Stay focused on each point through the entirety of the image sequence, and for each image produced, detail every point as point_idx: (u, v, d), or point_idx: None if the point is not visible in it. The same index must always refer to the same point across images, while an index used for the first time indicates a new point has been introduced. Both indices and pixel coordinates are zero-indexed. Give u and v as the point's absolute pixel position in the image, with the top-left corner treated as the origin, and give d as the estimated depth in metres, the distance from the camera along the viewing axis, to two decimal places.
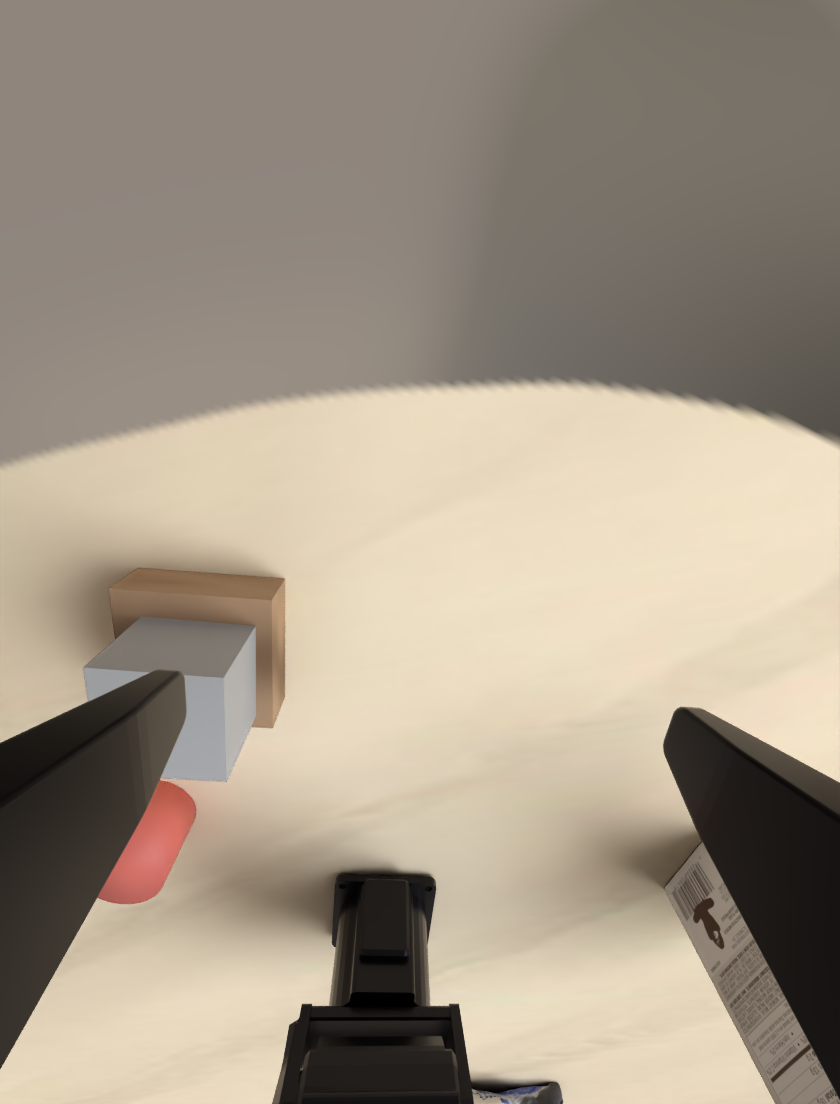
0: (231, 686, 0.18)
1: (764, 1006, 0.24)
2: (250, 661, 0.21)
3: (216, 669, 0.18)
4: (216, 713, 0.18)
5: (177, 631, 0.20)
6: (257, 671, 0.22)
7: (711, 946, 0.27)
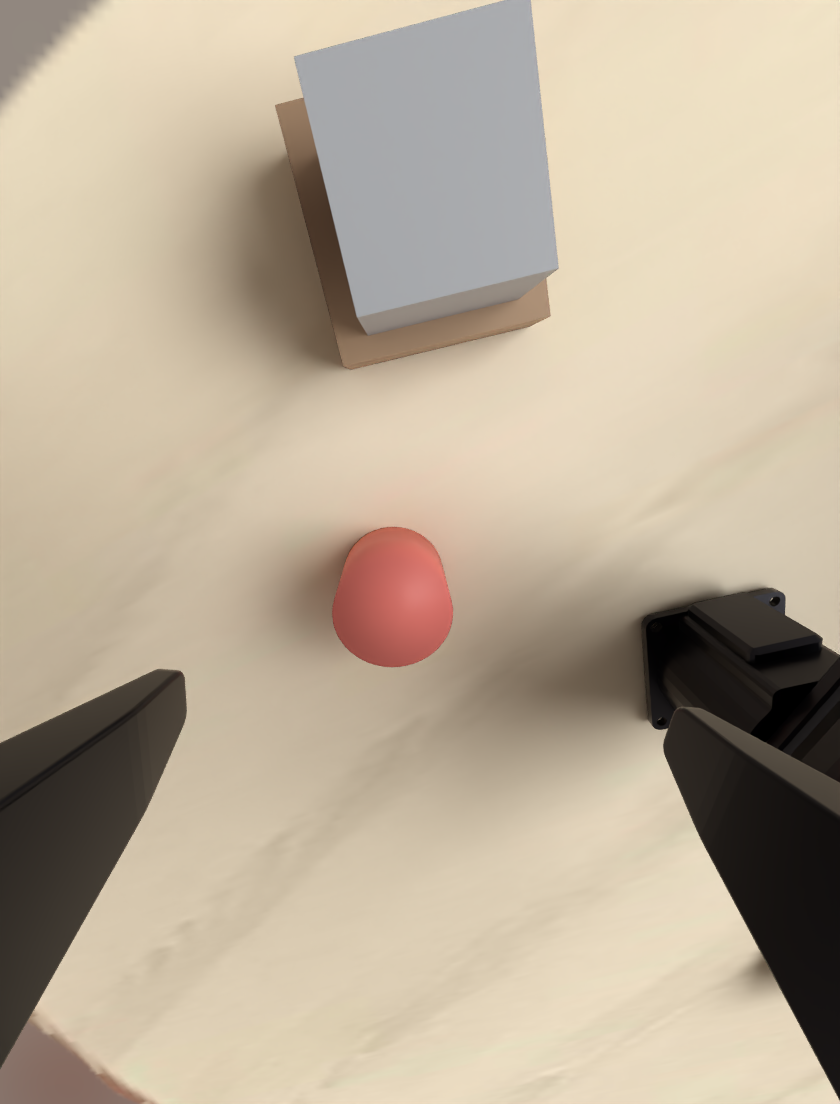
0: None
1: None
2: None
3: None
4: (526, 97, 0.10)
5: None
6: None
7: None
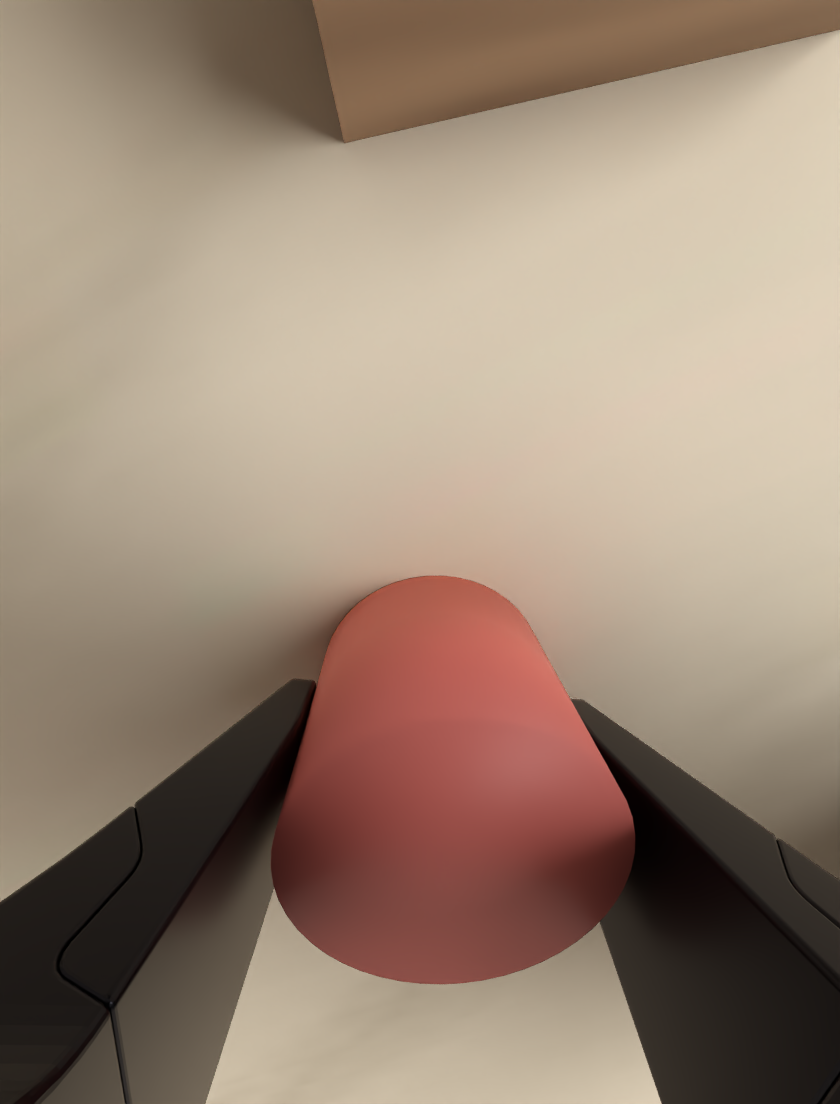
0: None
1: None
2: None
3: None
4: None
5: None
6: None
7: None
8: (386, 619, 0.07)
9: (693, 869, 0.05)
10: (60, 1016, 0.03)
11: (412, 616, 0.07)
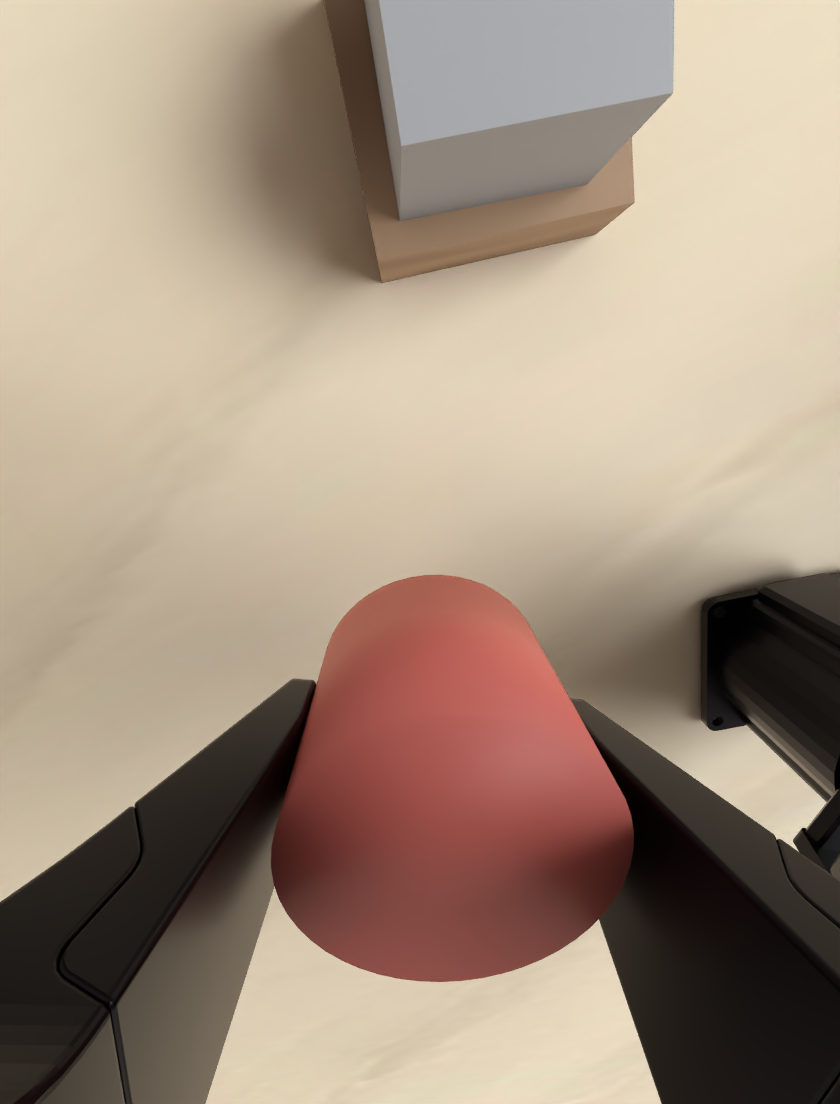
0: None
1: None
2: None
3: None
4: None
5: None
6: None
7: None
8: (386, 618, 0.07)
9: (693, 869, 0.05)
10: (60, 1014, 0.03)
11: (412, 615, 0.07)
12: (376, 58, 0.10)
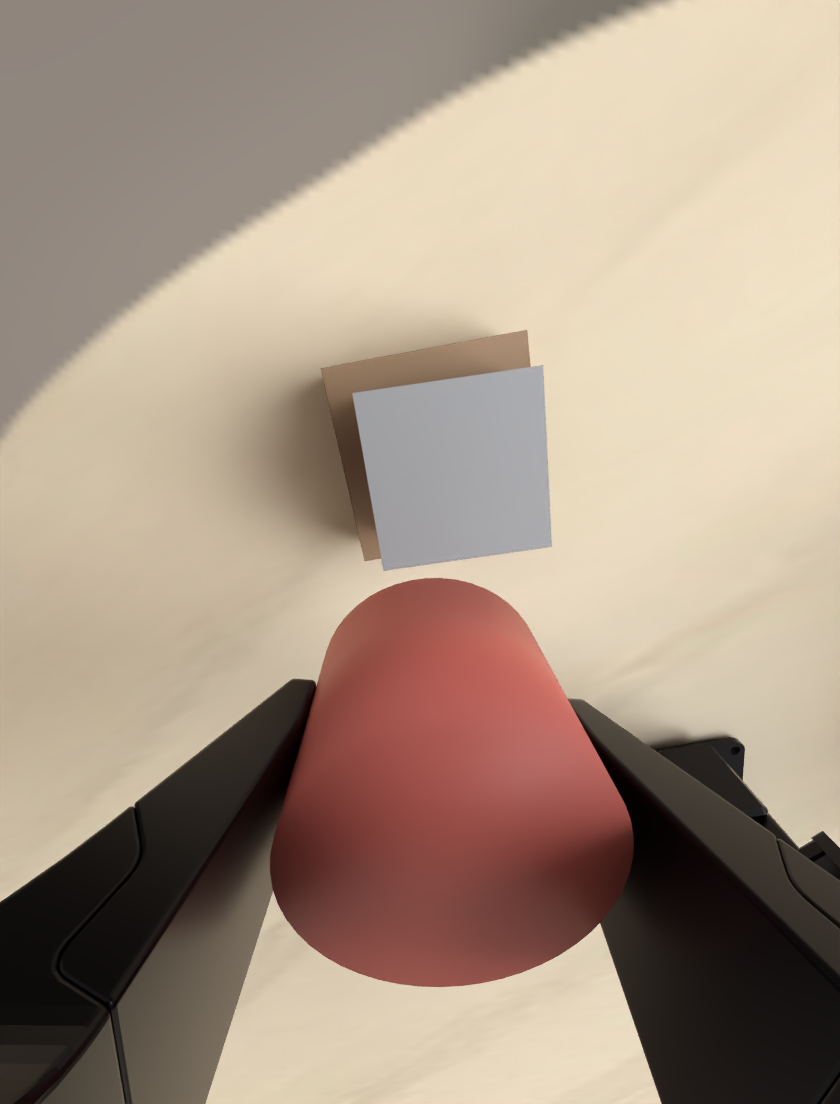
0: None
1: None
2: None
3: None
4: (534, 431, 0.12)
5: None
6: None
7: None
8: (385, 622, 0.07)
9: (693, 869, 0.05)
10: (59, 1016, 0.03)
11: (411, 619, 0.07)
12: None
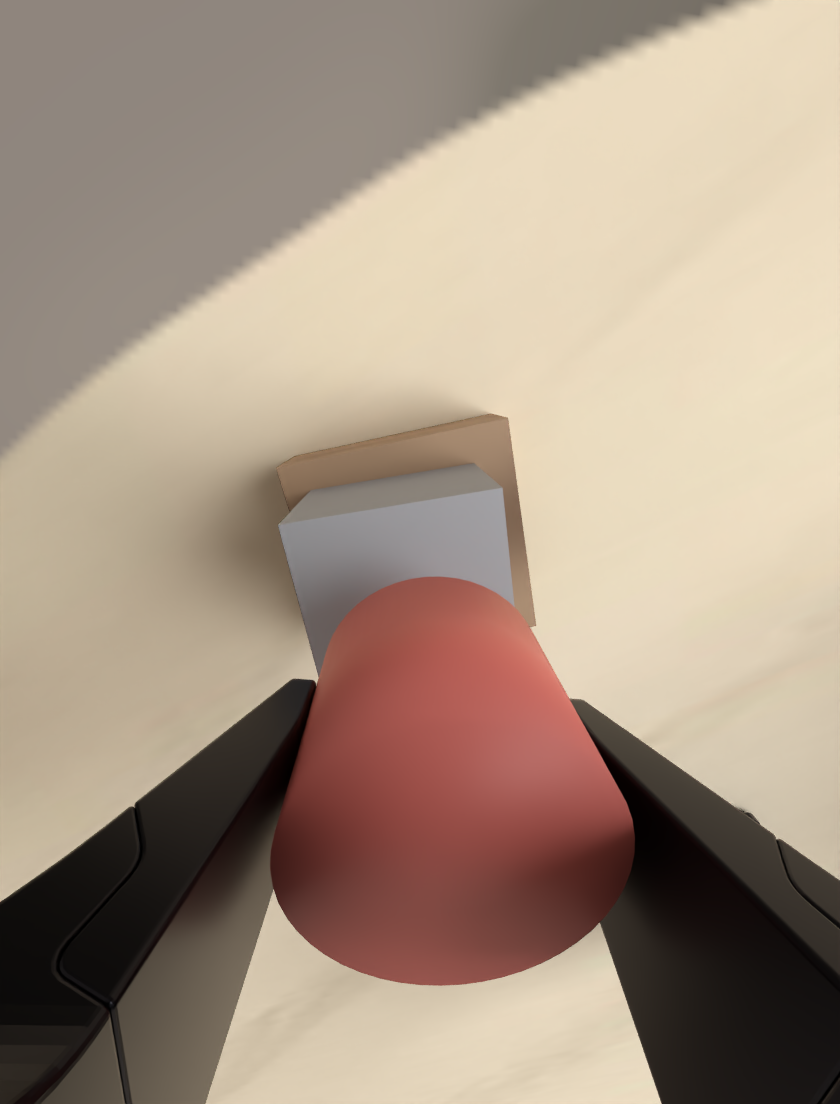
0: None
1: None
2: None
3: (478, 486, 0.11)
4: (496, 559, 0.11)
5: (373, 485, 0.13)
6: None
7: None
8: (386, 620, 0.07)
9: (693, 869, 0.05)
10: (59, 1016, 0.03)
11: (412, 617, 0.07)
12: None
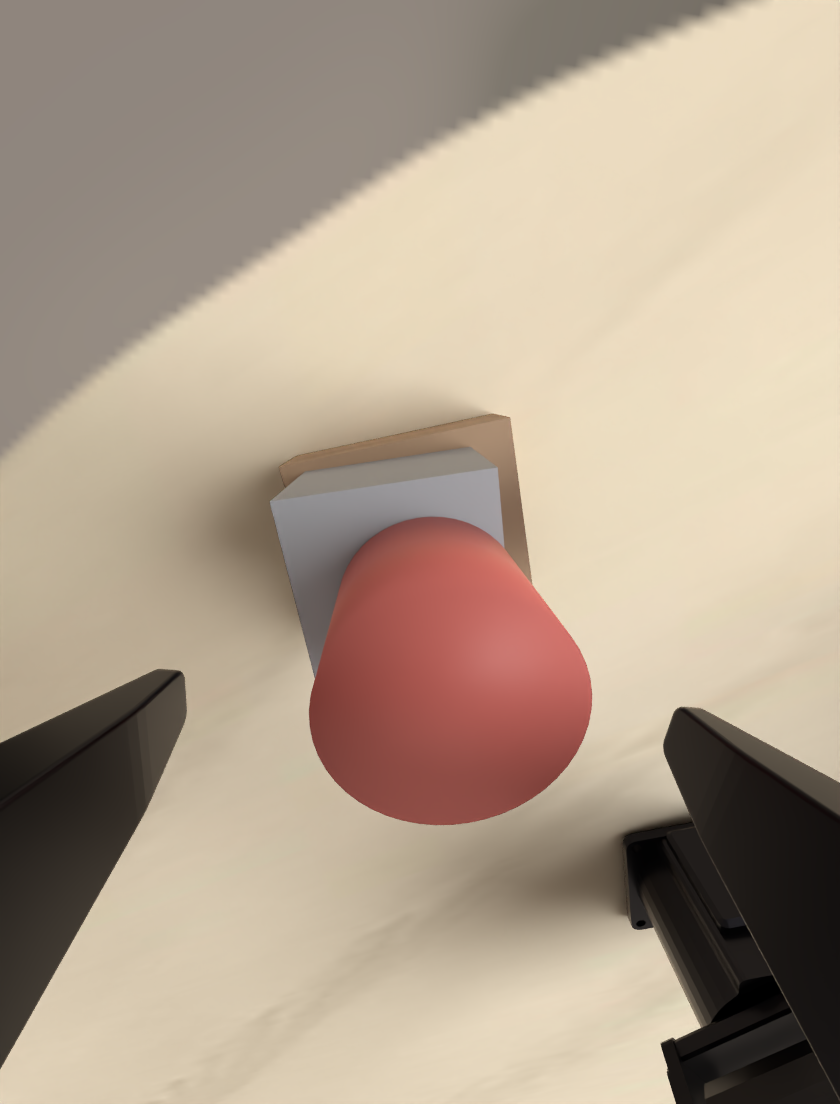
0: None
1: None
2: None
3: (474, 466, 0.10)
4: None
5: (367, 466, 0.13)
6: (504, 541, 0.15)
7: None
8: (398, 541, 0.09)
9: None
10: None
11: (420, 538, 0.09)
12: None
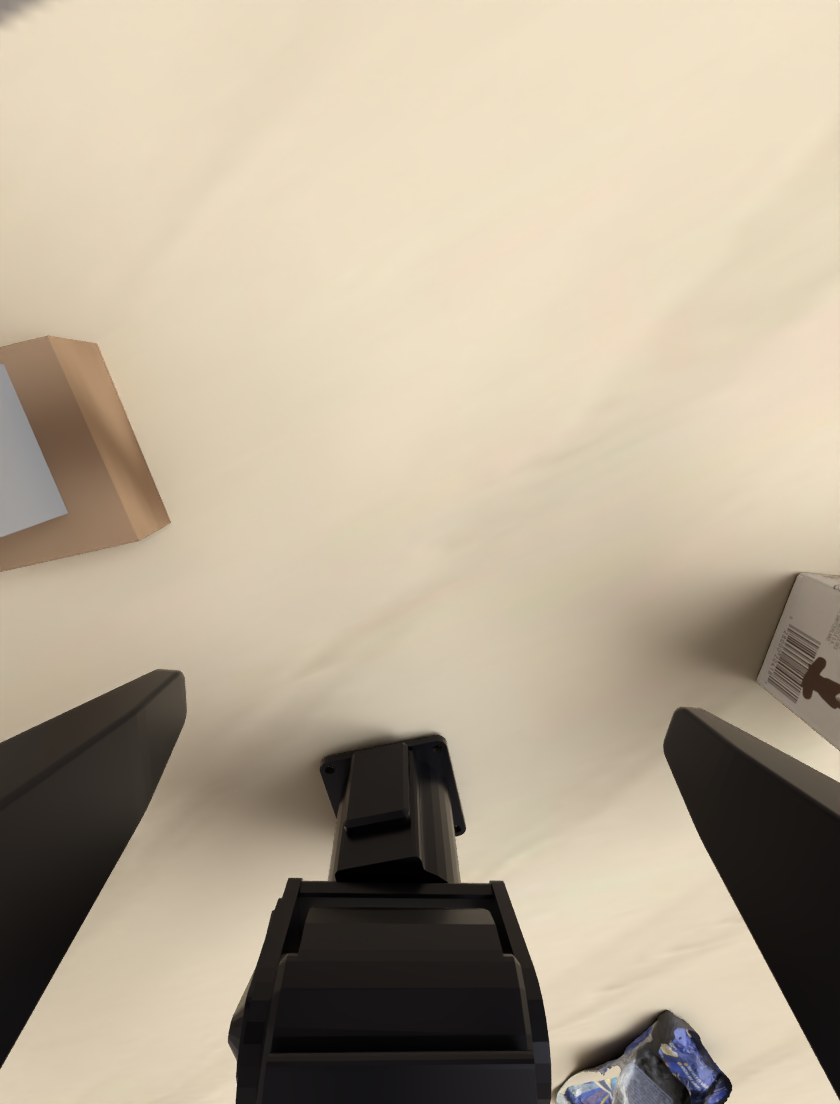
0: None
1: None
2: (2, 408, 0.14)
3: None
4: None
5: None
6: (80, 457, 0.16)
7: (838, 716, 0.19)
8: None
9: None
10: None
11: None
12: None
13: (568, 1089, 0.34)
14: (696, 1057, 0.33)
